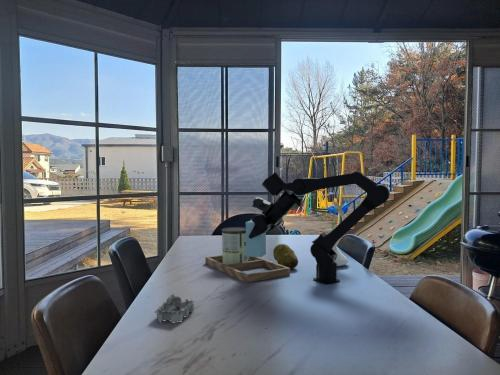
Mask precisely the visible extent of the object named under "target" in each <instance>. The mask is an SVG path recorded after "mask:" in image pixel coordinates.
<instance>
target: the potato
mask: <svg viewBox="0 0 500 375" xmlns="http://www.w3.org/2000/svg"><path fill="white" fill-rule="evenodd" d="M272 253H273V254H272V255H273V259H274V260H275V261H276V263H277V264H280V265H283V266H286V267H288V268H290V270H293V269H295V268H296V267H298V264H299V259H298V256H297V255H296V253H295V250H293V249H292V248H291V247H290V246H289V245H287V244H286V243H279V244H277V245H276V246H275V247H274V248H273V251H272Z"/></svg>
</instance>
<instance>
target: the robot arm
mask: <svg viewBox="0 0 500 375" xmlns="http://www.w3.org/2000/svg"><path fill="white" fill-rule="evenodd" d="M350 185H351V186H352V185H356V186H357V187H359V189H361V190H362V191H364V192H365V193H367V194H366V196H365V197H364V198H363V200H362V202H360V204H359V205H358V206H357V207H356V208H355V209H353V210H352V211H351V212H350V213H349V215H347V216H345V217H344V218H343V220H342V221H341V222H340V223H339V224H338V225H337V226H335V227H334V228H332V229H333V230H332V231H331V232H330V233H329V232H328V233H326V232H325V231H322V232H321V233H320V234H319V236H317V238H315V239H314V240H312V241H311V243H312V244H311V246H310V248H309V249H310V254H311V255H312V257H313V258H314V259H315V262H316V265H315V268H316V269H315V277H312V278H313V281H316V282H319V283H322V284H325V285H328V284H329V285H330V284H333V283H339V282H341V280H340V279H339V278H337V277H338V276H337V275H338V274H337V271H338V268H337V267H338V266H337V263H335V262H334V261H335V260H336V258H337V253H336V252H335V251H334V250H333V249H332V248H333V247H334V246H335V244H336V245H337V243H338V241H339V240H340V239H341V238H342V237H343V236H344V235H346V234H347V233H348V232H350V230H351V229H352V228H353V227H354V226H356V224H358V223H359V222H360V221H361V220H362V219H363V218H364V217H365V216H366V215H367V214H368V213H369V212H371V211H373V210H375V209H376V208H378V207H380V206H381V205H383V204H384V203H386V202H387V201H388V200H389V197H390V196H391V191H390V189H389V187H388V186H387V185H385V184H378V183H377V182H376V181H374V180H372V179H371V178H370V177H368V176H367V175H365V174H364V173H363V172H361V171H354V172H351V173H345V174H344V173H343V174H339V175H332V176H327V177H320V178H319V177H317V178H315V177H302V178H301V177H300V178H299V177H298V178H296V179H294V180H293V181H292V182H291V181H289V182H286V181H285V180H284V179H283V178H282V177H281V175H280V174H279V173H278V172H277V171H276V172H273V174H271V175H270V176H269V177H266V178H265V179H264V180H263V182H262V184H261V186H262V187H263V188H264V189H265V190H266V191H267V192H268V194H270V196H271V197H275V196H276V197H277V199H276V200H275V201H274V202H270V201H268V200H266V199H264V198H262V197H260V196H258V197H255V198H254V200H253V201H252V205H251V206H252V207H253V208H255V209H258V210H260V211H261V213H260V214H259V213H258V214H255V215H253V217H252V218H251V219H252V221H253V222H254V224H255V225H254V227H253V229H252V231H251V233H250V235H249V238H250V239H251V238H254V237H256V236H258V235H261V234H263V233H265V232H266V233H267V232H269V231H271V230H274V229H276V228H277V227H280V226H281V225H282V224H283V222H284V219H283V218H284V217H286V216H287V215H288V213H289V212H290V211H291V210H292V209H293V208H294V207H295V206H296V205H297V206H298V207H299V208H300V207H303V206H304V198H303V197H302V198H301V197H298V196H304V195H307V194H312V193H313V192H317V191H321V190H323V189H324V190H325V189H331V188H336V187H343V186H350Z"/></svg>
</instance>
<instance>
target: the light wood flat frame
mask: <svg viewBox="0 0 500 375" xmlns="http://www.w3.org/2000/svg"><path fill="white" fill-rule="evenodd" d="M204 260H205V265H208V266H210V267H212V268H214V269H215V270H217V271H221V272H223V273H224V274H226V275H228V276H231V277H232V278H234V279H237V280H239V281H241V282H243V283H246V284H248V282H249V283H253V281H254V282H259V280H260V281H264V280H269V279H270V278H271V279H275V278H276V279H277V278H281V277H289V276H291V269H290V268H288V267H286V266H283V265H280V264H278V263H277V262H274V261H271V260H269V259H265V258H263V257H250V256H248V260H249V261H248V262H242V263H235V264H228V265H225V264H223V254H220V255H213V256H206V257H205V258H204ZM257 267H258V268H263V267H264V268H267V269H269V270H265V271H259V272H252V273H246V272H243V270H244V271H245V270H251V269H255V268H256V269H257Z"/></svg>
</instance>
